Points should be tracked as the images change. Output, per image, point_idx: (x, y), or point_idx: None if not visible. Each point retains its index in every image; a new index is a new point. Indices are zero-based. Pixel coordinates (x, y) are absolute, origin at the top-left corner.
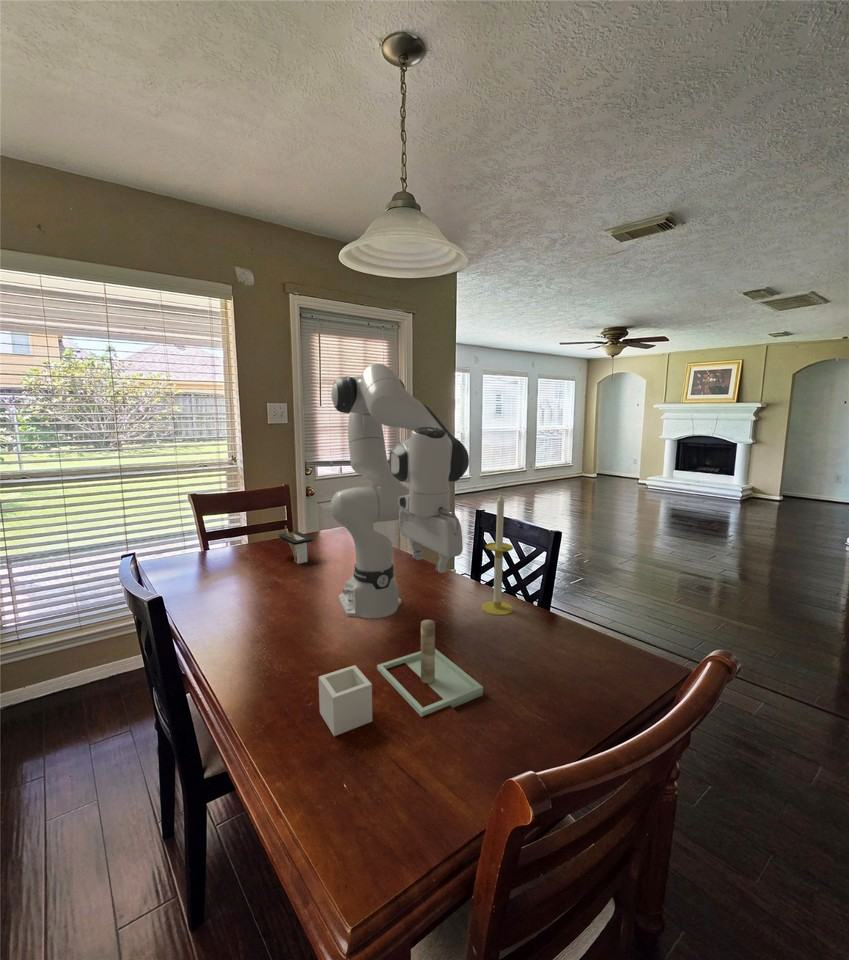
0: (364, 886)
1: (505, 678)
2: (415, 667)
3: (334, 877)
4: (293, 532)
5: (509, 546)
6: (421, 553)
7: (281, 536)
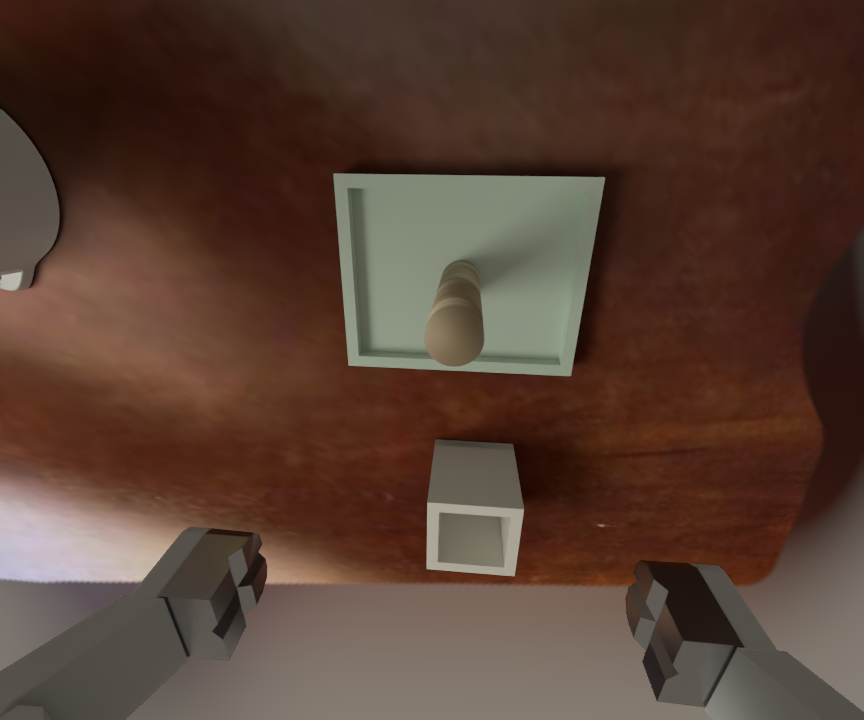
0: (746, 564)
1: (587, 38)
2: (390, 273)
3: None
4: None
5: None
6: (224, 593)
7: None
